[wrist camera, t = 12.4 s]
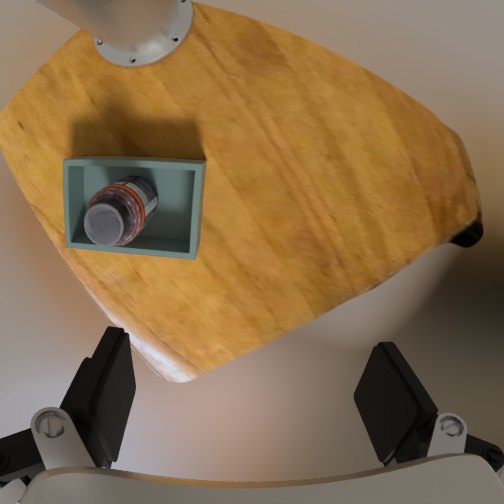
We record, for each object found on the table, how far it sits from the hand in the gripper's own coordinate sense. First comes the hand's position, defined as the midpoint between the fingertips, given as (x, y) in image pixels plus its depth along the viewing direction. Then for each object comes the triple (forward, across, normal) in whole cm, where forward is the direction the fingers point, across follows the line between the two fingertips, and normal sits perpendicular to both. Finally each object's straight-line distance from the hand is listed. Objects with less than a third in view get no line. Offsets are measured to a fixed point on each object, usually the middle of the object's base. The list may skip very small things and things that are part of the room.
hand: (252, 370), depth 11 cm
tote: (+28, +12, 0) cm, 31 cm away
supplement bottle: (+28, +12, 0) cm, 30 cm away
